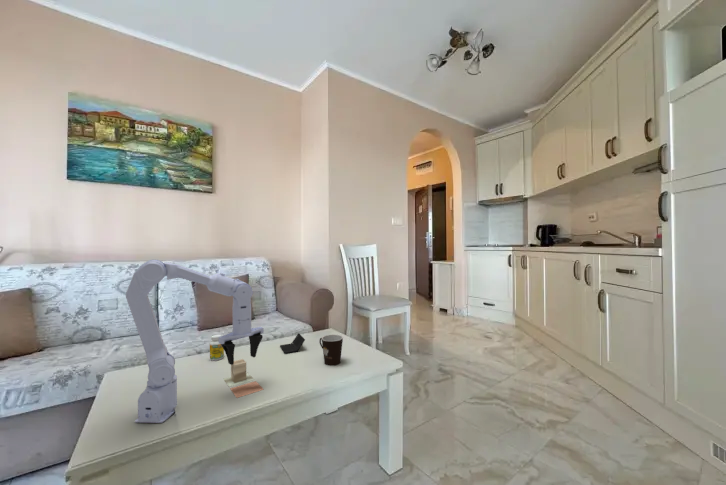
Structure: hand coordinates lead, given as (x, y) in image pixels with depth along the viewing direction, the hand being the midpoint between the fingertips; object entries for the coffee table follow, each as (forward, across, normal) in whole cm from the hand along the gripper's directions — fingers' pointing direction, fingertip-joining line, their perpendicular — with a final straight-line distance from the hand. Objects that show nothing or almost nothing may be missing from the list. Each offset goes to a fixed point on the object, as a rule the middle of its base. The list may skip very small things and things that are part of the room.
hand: (242, 360), depth 99 cm
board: (+10, +1, +3) cm, 11 cm away
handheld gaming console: (+11, +35, +20) cm, 42 cm away
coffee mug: (+11, +36, -4) cm, 38 cm away
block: (+9, +2, +7) cm, 12 cm away
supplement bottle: (+11, +7, +36) cm, 38 cm away
